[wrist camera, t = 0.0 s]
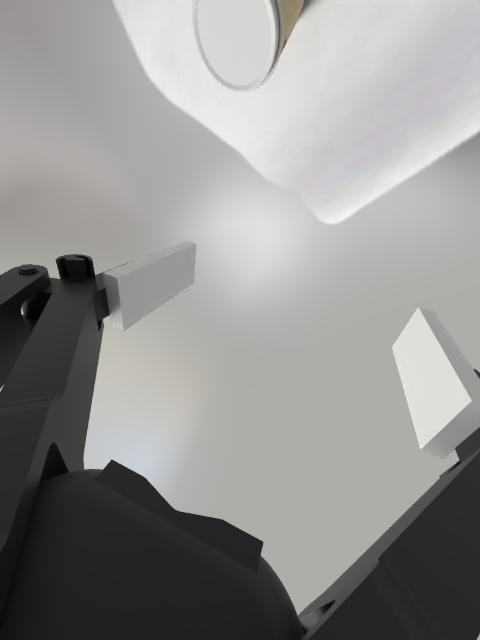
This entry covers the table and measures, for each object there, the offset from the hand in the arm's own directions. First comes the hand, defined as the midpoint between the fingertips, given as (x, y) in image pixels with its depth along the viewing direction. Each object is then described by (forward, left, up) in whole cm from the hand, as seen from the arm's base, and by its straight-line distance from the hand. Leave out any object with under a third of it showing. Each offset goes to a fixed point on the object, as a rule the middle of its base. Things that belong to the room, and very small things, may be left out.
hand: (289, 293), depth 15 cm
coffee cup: (-8, -11, -36) cm, 39 cm away
